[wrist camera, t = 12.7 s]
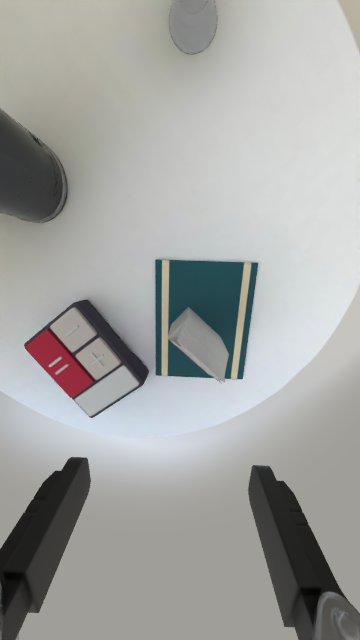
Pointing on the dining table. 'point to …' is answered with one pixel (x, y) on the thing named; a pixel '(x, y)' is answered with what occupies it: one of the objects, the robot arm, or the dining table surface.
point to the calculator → (87, 358)
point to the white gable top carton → (200, 343)
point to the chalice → (192, 24)
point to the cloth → (204, 310)
